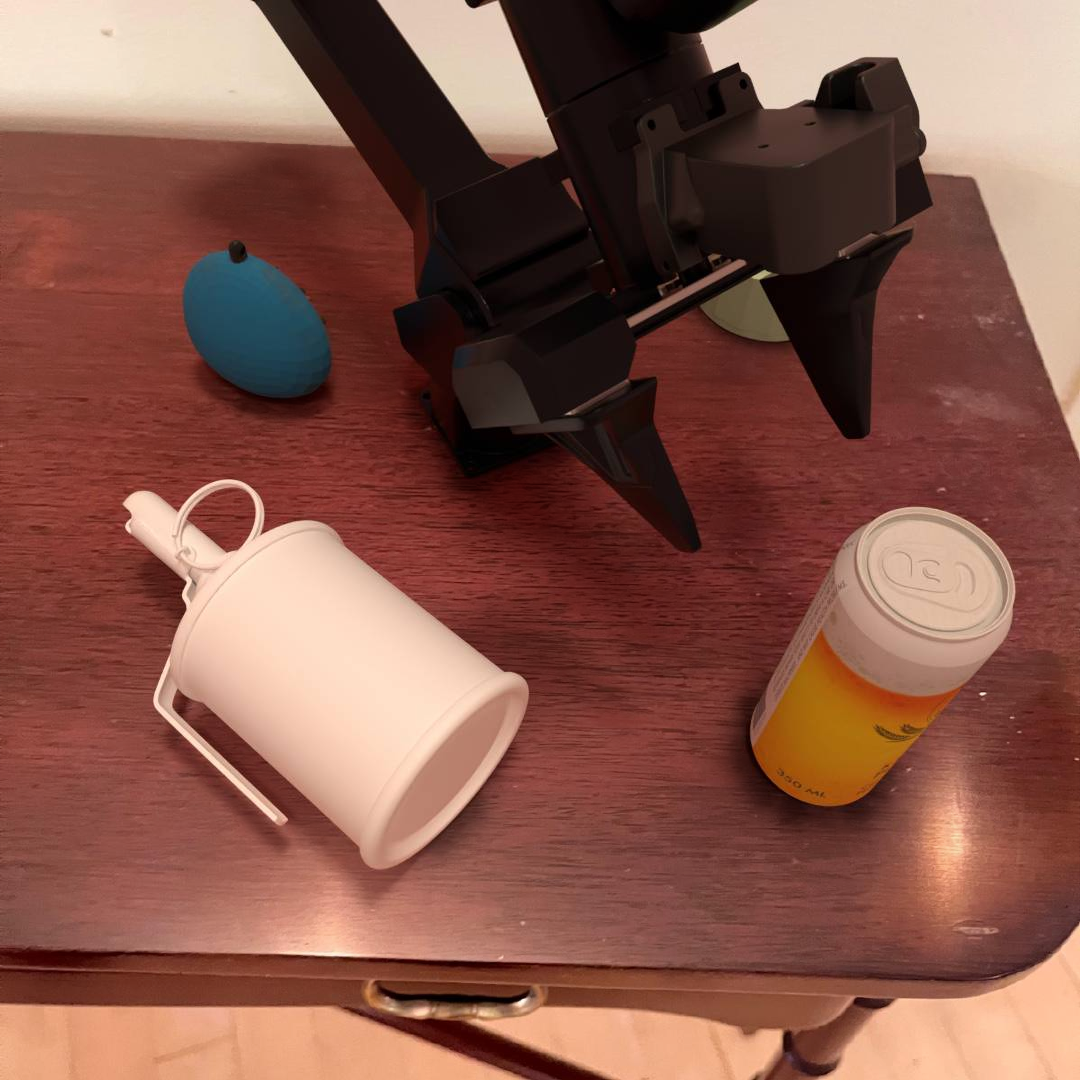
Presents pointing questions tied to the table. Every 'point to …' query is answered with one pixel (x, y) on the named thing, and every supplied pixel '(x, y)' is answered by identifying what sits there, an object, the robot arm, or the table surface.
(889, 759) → the beer can
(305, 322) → the ornament
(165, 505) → the white smoke grenade
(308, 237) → the table surface
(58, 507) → the table surface
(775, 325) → the can holder
